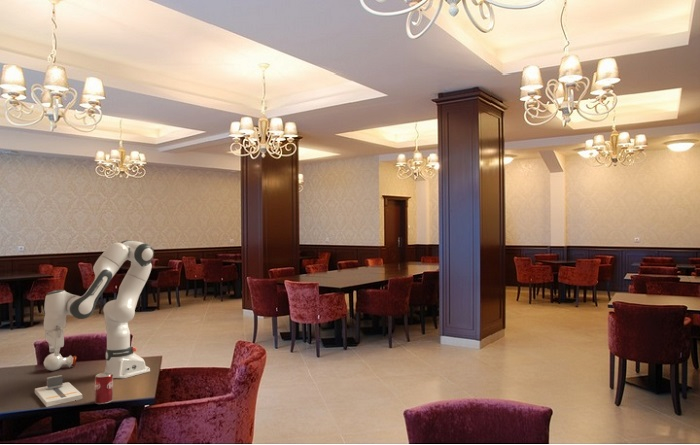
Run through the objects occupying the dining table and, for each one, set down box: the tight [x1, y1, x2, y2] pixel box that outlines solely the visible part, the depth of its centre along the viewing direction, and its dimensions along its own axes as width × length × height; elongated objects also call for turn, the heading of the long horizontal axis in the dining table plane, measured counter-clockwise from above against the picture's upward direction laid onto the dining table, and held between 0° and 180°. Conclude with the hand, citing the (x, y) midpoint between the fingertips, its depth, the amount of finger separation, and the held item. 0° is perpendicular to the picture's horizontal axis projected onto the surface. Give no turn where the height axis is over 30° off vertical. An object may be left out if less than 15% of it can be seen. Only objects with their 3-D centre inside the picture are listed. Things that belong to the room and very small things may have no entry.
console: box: [34, 381, 83, 408], centre depth 219 cm, size 14×25×2 cm, turn 43°
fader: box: [46, 374, 64, 389], centre depth 224 cm, size 6×4×5 cm, turn 134°
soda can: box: [94, 372, 114, 405], centre depth 211 cm, size 7×7×12 cm
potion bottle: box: [43, 352, 77, 372], centre depth 261 cm, size 9×10×15 cm
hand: (54, 353), depth 224 cm, fingers open, 8 cm apart
